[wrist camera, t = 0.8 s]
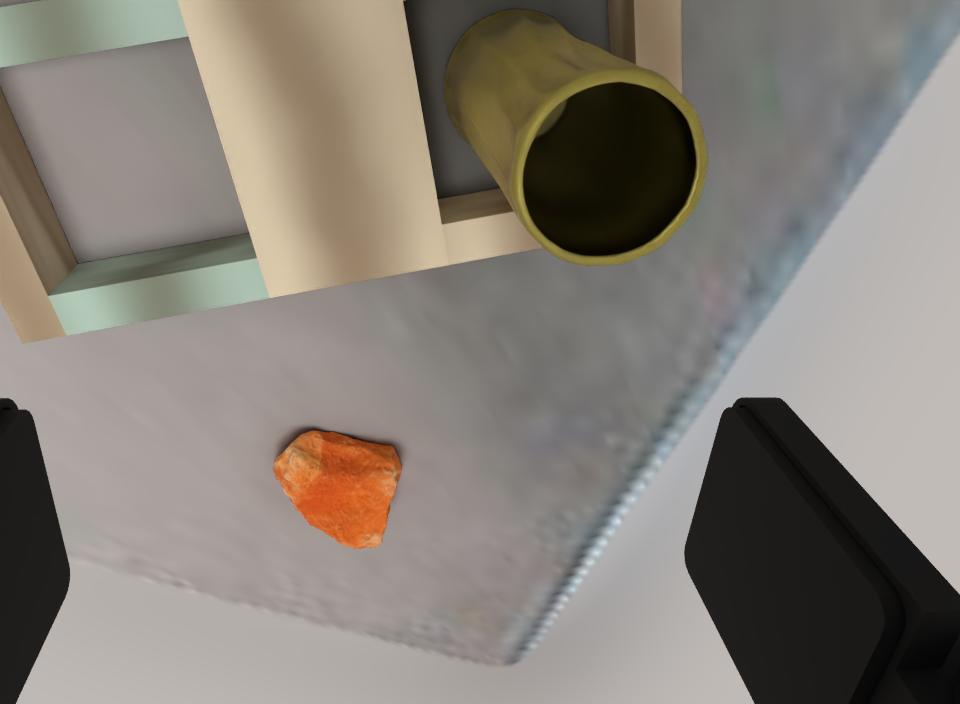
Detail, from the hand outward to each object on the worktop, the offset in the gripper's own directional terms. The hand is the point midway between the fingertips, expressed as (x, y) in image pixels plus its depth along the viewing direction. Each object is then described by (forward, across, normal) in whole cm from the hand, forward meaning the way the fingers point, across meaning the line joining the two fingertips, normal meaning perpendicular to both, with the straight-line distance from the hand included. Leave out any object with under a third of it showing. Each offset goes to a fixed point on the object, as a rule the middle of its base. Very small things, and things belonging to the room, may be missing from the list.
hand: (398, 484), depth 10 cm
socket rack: (+24, +2, 0) cm, 24 cm away
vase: (+25, -6, -2) cm, 25 cm away
